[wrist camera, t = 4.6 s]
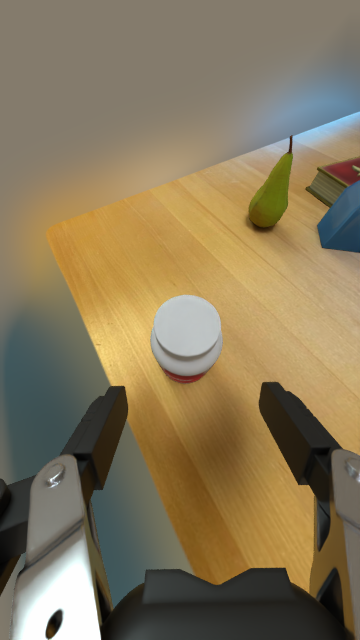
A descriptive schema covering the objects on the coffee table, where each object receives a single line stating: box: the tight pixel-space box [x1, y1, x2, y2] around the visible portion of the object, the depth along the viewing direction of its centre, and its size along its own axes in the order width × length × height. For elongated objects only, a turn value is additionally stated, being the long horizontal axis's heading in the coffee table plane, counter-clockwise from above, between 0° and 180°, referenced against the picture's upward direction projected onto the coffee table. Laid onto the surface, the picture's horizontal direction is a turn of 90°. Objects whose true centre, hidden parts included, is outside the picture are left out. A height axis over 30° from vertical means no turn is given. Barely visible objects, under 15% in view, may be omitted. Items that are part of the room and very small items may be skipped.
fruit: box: [249, 136, 293, 228], centre depth 27 cm, size 6×6×12 cm
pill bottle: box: [151, 295, 223, 384], centre depth 16 cm, size 6×6×11 cm
